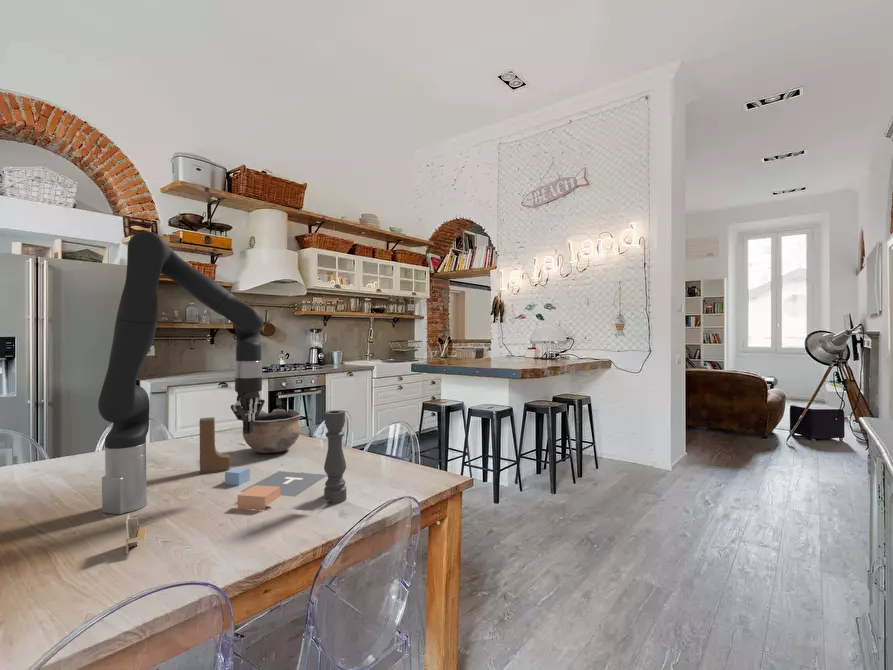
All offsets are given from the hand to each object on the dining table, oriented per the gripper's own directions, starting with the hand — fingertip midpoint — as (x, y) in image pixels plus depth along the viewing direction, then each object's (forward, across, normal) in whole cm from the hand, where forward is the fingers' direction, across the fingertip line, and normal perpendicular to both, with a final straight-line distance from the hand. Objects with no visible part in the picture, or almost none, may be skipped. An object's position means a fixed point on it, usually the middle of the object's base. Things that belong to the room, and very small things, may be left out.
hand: (248, 433), depth 140 cm
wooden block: (+18, +14, +24) cm, 33 cm away
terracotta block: (+18, -8, -10) cm, 22 cm away
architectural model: (+18, -38, 0) cm, 42 cm away
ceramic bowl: (+18, +41, +20) cm, 49 cm away
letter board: (+17, +6, -9) cm, 20 cm away
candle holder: (+17, 0, -29) cm, 34 cm away
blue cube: (+18, +3, +6) cm, 19 cm away
